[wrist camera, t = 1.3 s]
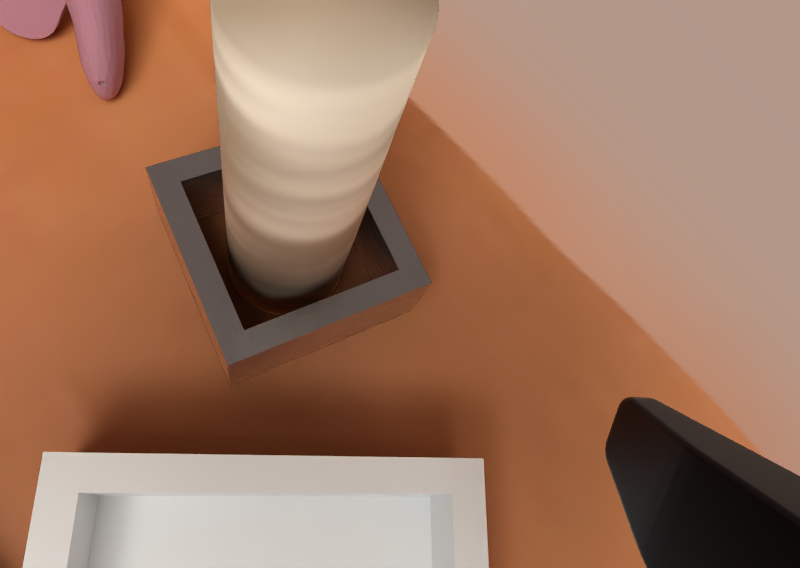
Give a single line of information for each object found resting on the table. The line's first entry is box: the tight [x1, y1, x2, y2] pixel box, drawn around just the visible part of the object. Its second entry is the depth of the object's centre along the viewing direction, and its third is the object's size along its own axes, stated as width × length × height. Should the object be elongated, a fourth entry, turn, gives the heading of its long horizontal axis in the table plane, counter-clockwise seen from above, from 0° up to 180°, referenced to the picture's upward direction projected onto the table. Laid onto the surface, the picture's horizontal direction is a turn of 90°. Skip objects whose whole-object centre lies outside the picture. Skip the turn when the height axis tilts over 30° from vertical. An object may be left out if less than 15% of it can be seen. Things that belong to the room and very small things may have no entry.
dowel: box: [210, 0, 439, 315], centre depth 17 cm, size 4×4×13 cm
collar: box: [146, 146, 432, 386], centre depth 22 cm, size 7×7×3 cm
